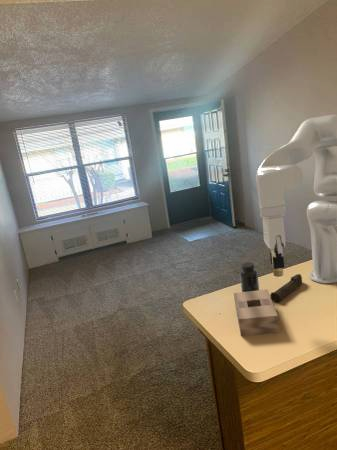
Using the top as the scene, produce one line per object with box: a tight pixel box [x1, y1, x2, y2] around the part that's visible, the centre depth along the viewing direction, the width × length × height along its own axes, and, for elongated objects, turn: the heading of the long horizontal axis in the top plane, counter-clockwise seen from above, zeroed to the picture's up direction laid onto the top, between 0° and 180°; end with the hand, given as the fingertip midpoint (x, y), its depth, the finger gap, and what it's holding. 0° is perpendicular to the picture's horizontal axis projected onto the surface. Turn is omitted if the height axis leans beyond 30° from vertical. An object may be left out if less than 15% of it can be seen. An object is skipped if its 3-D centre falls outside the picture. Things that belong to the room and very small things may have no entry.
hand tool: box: [270, 273, 303, 303], centre depth 127 cm, size 19×4×5 cm, turn 127°
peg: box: [270, 246, 284, 278], centre depth 105 cm, size 3×3×10 cm
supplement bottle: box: [239, 261, 260, 292], centre depth 131 cm, size 7×7×12 cm
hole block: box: [233, 289, 280, 337], centre depth 113 cm, size 12×18×6 cm, turn 174°
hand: (277, 265), depth 106 cm, fingers closed on peg, 3 cm apart
